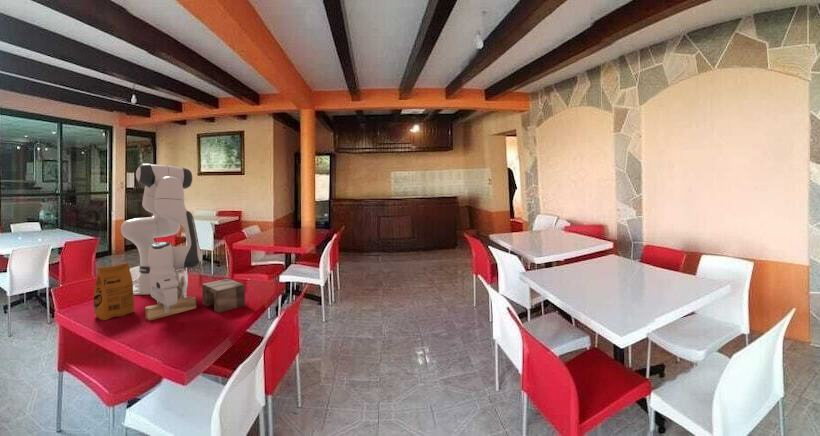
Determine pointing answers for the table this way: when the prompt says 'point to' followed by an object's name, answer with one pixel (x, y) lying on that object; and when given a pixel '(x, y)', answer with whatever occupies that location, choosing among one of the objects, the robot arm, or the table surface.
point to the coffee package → (113, 292)
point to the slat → (180, 306)
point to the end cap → (223, 294)
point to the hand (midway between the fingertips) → (163, 311)
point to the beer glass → (181, 282)
